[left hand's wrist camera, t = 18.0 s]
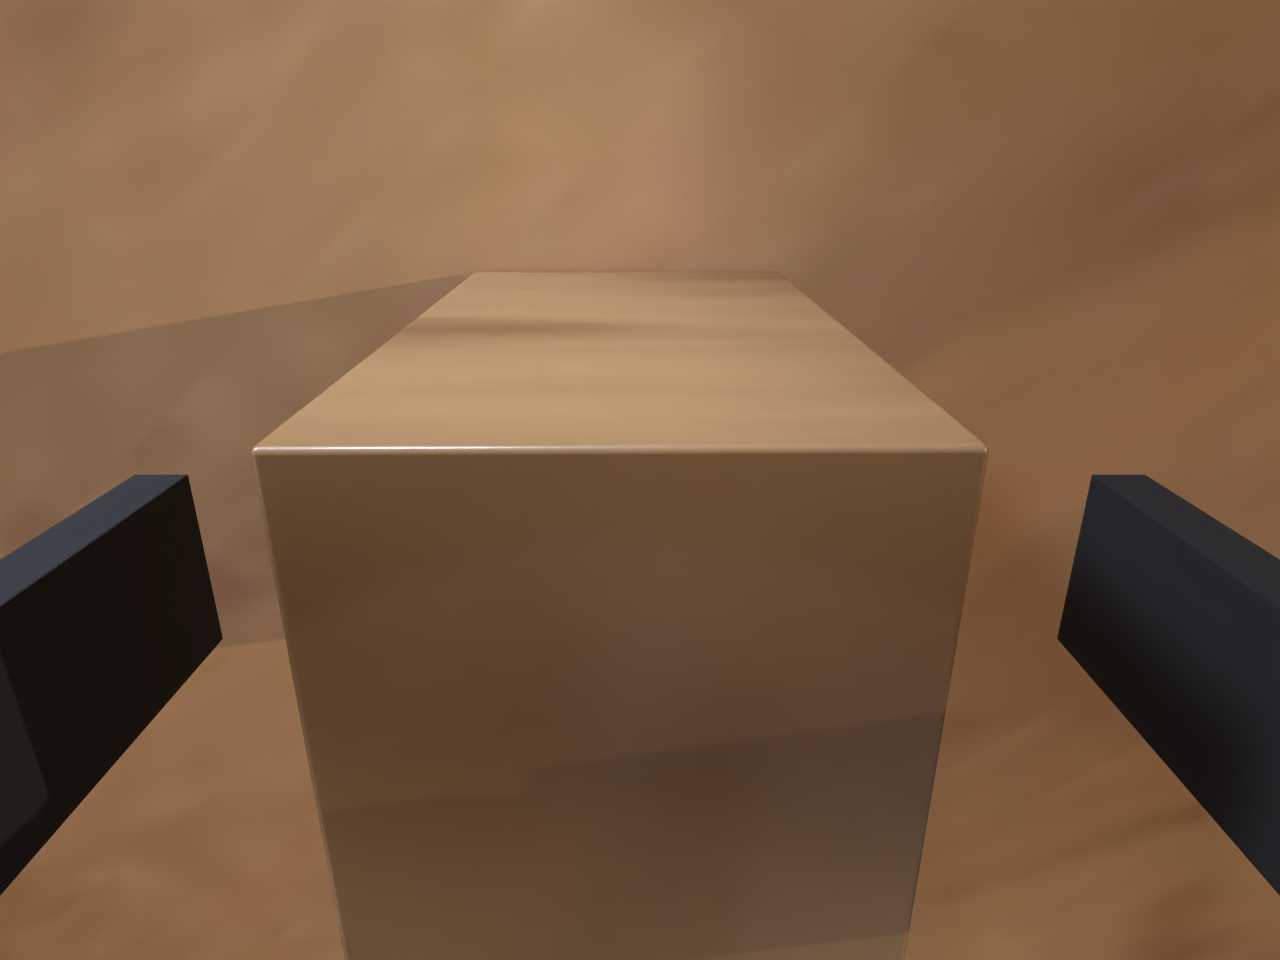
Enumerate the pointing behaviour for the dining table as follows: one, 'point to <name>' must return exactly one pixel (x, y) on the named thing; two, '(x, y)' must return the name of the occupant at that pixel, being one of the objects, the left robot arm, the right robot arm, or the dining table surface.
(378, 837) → the block
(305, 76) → the dining table surface
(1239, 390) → the dining table surface
